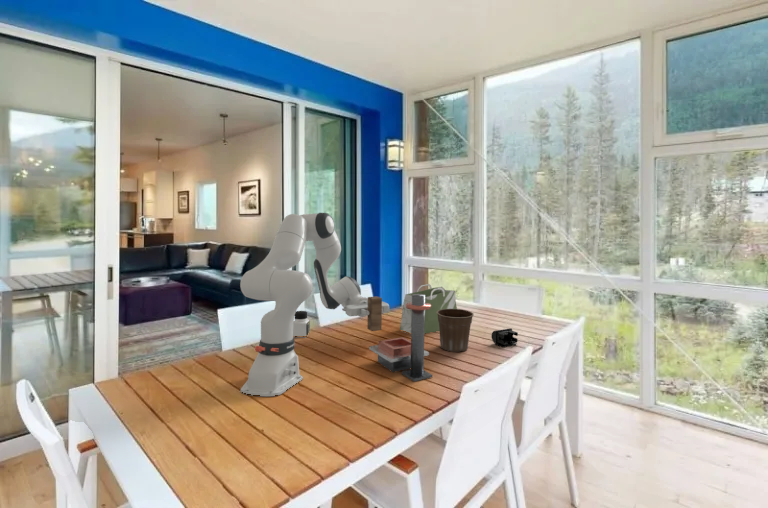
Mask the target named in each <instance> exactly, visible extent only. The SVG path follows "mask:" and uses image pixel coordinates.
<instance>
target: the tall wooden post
mask: <svg viewBox="0 0 768 508" xmlns="http://www.w3.org/2000/svg"><path fill="white" fill-rule="evenodd" d="M367 298H368V310H369V311H371V315H367V329H368V330H369V331H371V332H376V331H382V323H383V321H382V315H383V314H382V301H383V298H382V297H381V296H367Z"/></svg>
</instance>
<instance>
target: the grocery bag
mask: <svg viewBox="0 0 768 508" xmlns="http://www.w3.org/2000/svg"><path fill="white" fill-rule="evenodd" d="M427 286H428V287H429V288H427V289H424V290H420V289H421V288H423V287H427ZM412 294H424V295H425V303H429V304H431V309H429V310H425V327H424V335H426V334H425V333H427V334H431V333H430V332H433V333H437V332H436V331H439V322H438V314H437V311H438V310H442V309H458V308H457V301H456V298H457V297H456V290H455V289H454V290H452V289H451V290H450V289H445V288H444V287H443V286H437V287H432V285H431V284H429V283H427V284H422V285H420V286H419V287H418V288H417V291H415V292H411V293H405V294H404V299H403V303H402V311H401V320H400V325H399V331H400V330H403V331H406V332H409V333H411V312H412V310H410V309H407V308H406V303H409V302H412ZM403 331H402V332H403ZM406 332H405V333H406ZM439 332H440V331H439Z"/></svg>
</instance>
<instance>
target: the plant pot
mask: <svg viewBox="0 0 768 508" xmlns="http://www.w3.org/2000/svg"><path fill="white" fill-rule="evenodd" d="M437 314H438V322H439V343H440V344H439V345H440V348H441V349H443V350H444V351H446V350H447V352H450V351H452V353H460V352H461V351H462V352H466V351H467V350H468V349H469V340H470V339H469V338H470V332H471V325H472V322H473V318H474V317H473V316H474V312H472V311H470V310H466V309H462V308H461V309H460V308H457V309H442V310H438V311H437Z"/></svg>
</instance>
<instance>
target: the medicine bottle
mask: <svg viewBox="0 0 768 508" xmlns="http://www.w3.org/2000/svg"><path fill="white" fill-rule="evenodd" d="M310 322H311V321H310V319H308V311H306V310H296V313H295V316H294V323H293V336H307V335H308V333H309V331H310V327H311V325H310ZM309 334H310V333H309ZM308 336H309V335H308ZM308 336H307V337H308Z"/></svg>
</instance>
